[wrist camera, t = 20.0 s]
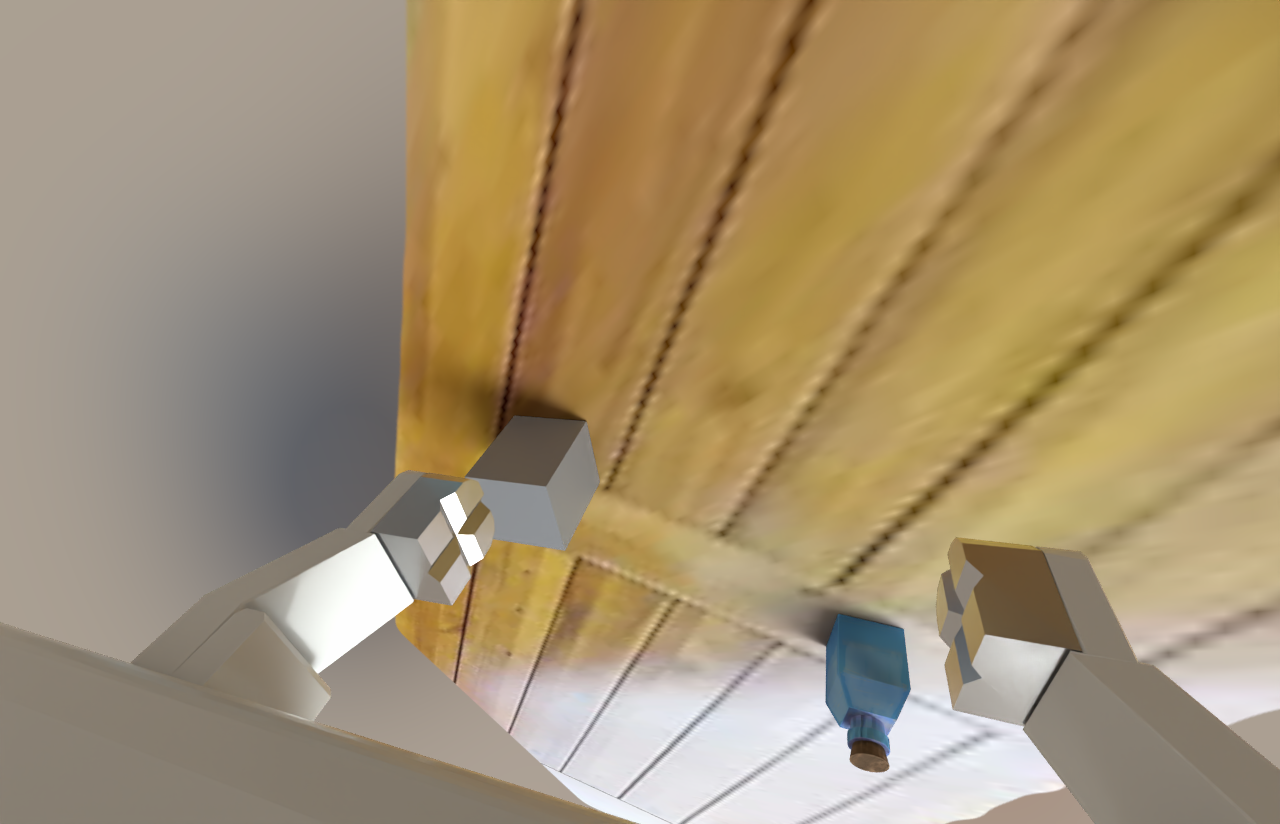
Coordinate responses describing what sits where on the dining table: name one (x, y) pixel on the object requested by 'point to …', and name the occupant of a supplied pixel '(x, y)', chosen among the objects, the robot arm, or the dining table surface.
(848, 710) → the perfume bottle
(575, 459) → the gray cuboid
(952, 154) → the dining table surface
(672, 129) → the dining table surface
